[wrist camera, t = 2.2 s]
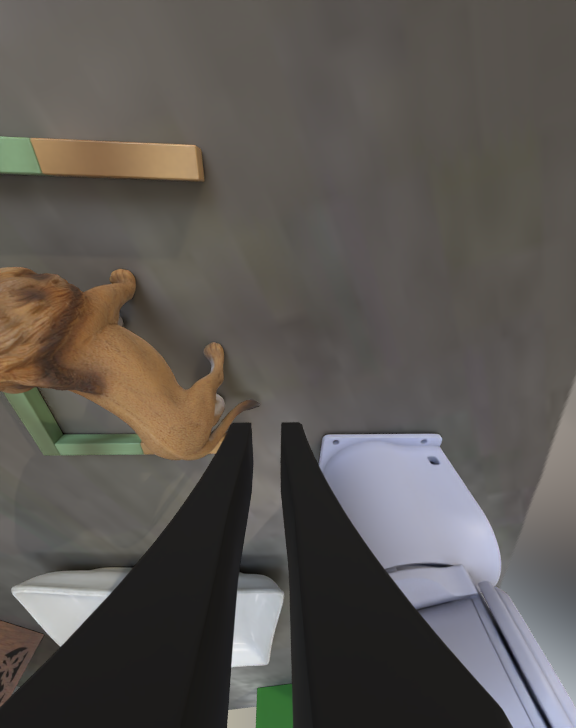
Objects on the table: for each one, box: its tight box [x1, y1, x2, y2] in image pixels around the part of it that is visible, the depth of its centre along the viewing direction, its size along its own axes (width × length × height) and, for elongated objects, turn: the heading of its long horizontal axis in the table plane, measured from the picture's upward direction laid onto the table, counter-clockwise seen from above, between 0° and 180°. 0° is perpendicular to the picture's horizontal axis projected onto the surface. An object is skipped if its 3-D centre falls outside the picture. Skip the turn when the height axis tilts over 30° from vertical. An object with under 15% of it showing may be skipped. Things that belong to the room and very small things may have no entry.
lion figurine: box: [0, 267, 260, 460], centre depth 13 cm, size 15×5×9 cm, turn 49°
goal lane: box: [0, 137, 226, 455], centre depth 16 cm, size 14×18×1 cm
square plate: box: [11, 567, 284, 667], centre depth 35 cm, size 27×27×4 cm
